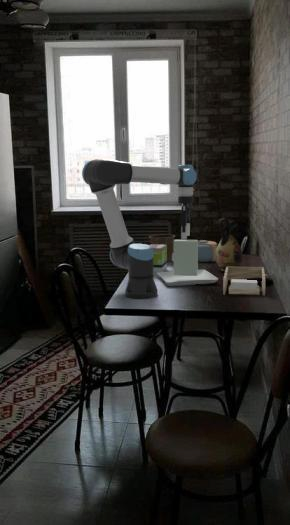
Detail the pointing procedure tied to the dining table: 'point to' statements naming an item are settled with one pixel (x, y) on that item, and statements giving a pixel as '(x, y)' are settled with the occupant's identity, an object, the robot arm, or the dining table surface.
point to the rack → (243, 275)
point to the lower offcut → (244, 291)
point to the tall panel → (186, 257)
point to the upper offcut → (243, 284)
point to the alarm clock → (206, 251)
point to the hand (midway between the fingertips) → (185, 237)
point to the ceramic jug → (228, 247)
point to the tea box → (159, 258)
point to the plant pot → (164, 243)
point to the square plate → (187, 278)
